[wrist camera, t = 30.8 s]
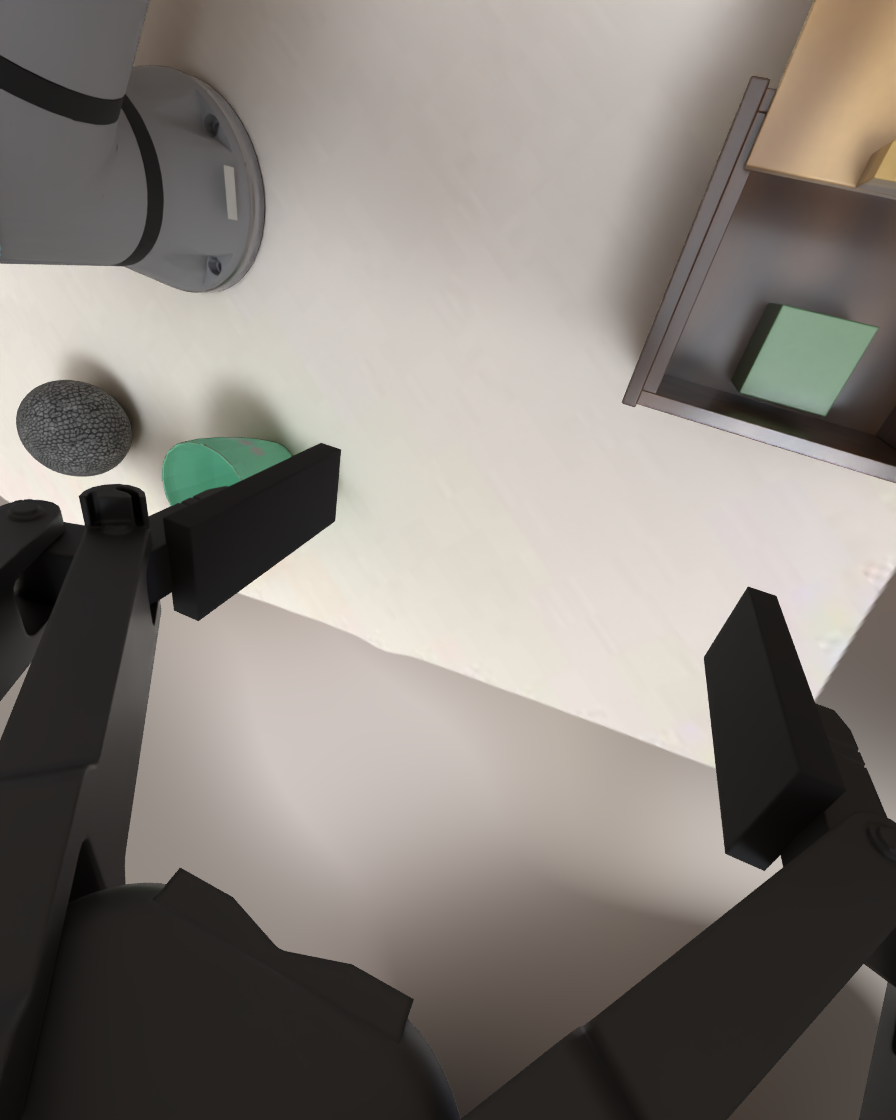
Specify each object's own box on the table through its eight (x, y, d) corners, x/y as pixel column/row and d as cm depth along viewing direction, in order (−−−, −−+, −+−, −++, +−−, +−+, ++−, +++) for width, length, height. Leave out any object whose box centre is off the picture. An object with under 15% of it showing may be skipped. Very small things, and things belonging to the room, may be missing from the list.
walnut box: (632, 375, 38) (621, 403, 29) (726, 139, 31) (751, 74, 21) (889, 451, 35) (968, 510, 25) (1064, 204, 27) (1268, 161, 18)
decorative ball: (70, 395, 60) (-25, 412, 52) (115, 358, 55) (18, 370, 47) (121, 473, 63) (38, 500, 55) (167, 444, 58) (84, 470, 50)
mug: (238, 491, 57) (165, 525, 49) (237, 404, 52) (156, 426, 44) (352, 536, 54) (296, 581, 46) (364, 449, 49) (302, 482, 41)
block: (730, 381, 35) (738, 393, 31) (768, 302, 33) (783, 303, 29) (806, 402, 34) (825, 417, 30) (852, 322, 32) (880, 327, 28)
